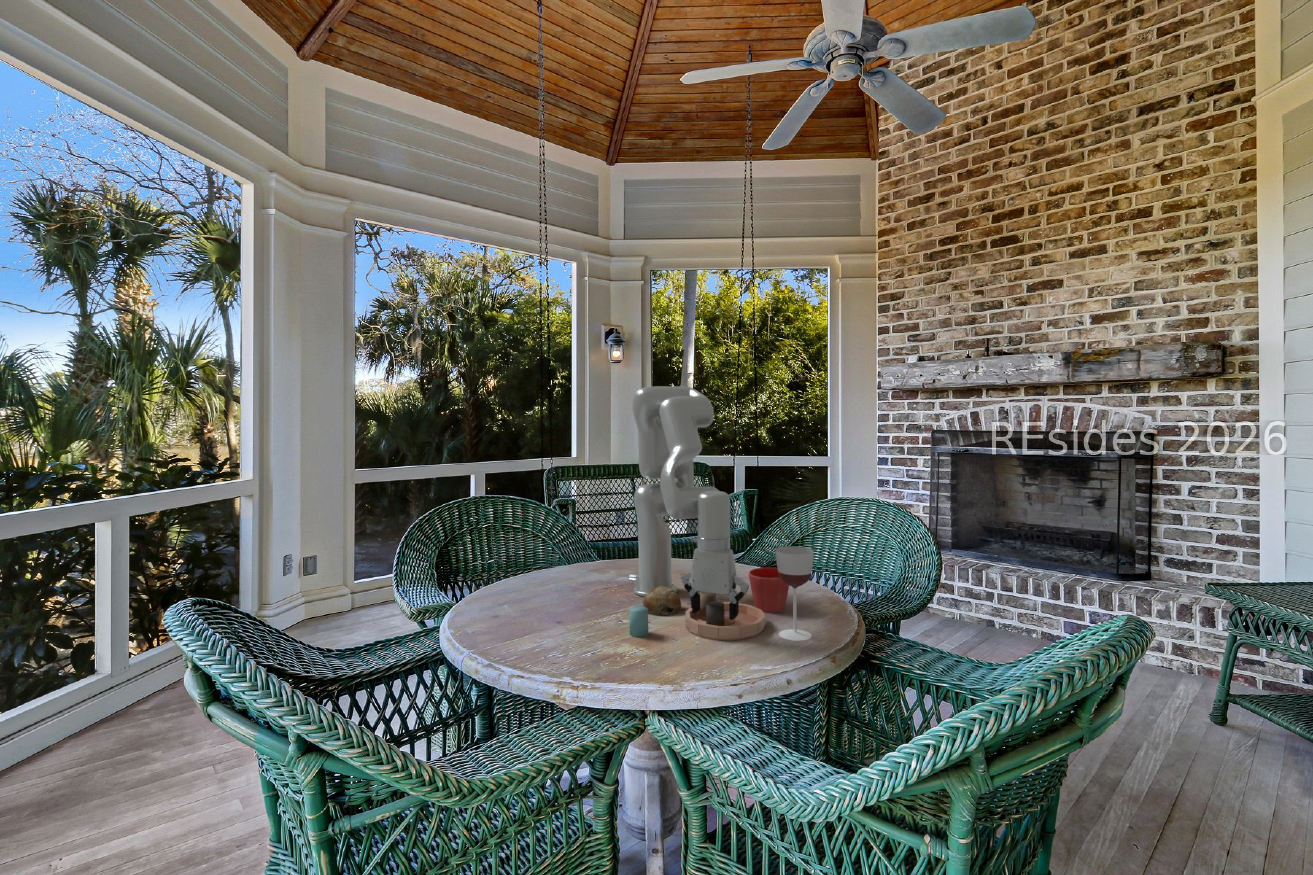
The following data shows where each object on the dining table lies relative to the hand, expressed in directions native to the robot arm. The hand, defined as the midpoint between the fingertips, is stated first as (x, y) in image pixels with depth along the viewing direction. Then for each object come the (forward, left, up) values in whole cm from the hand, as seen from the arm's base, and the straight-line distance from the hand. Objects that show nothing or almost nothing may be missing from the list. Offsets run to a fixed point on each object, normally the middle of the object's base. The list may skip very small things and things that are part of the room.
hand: (714, 614), depth 154 cm
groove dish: (0, +5, -4) cm, 7 cm away
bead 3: (0, 0, -3) cm, 3 cm away
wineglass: (+17, +7, -5) cm, 19 cm away
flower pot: (+5, +23, -5) cm, 24 cm away
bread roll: (-20, +10, -5) cm, 23 cm away
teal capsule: (-16, -9, -4) cm, 19 cm away
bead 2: (-5, +6, -3) cm, 8 cm away
